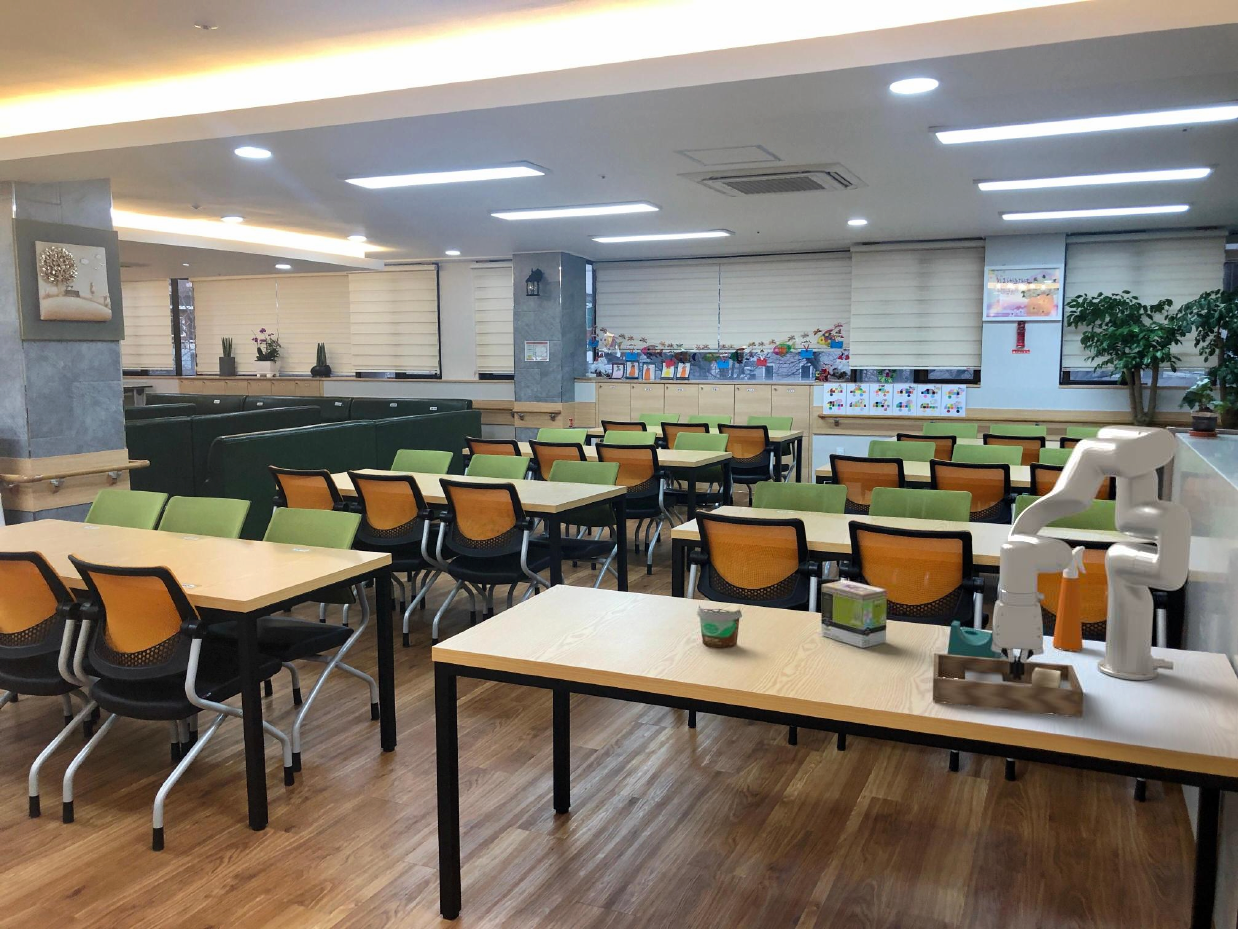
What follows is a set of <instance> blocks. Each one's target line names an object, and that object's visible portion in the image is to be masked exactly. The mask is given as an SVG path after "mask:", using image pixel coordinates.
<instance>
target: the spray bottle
mask: <svg viewBox="0 0 1238 929" xmlns="http://www.w3.org/2000/svg"><path fill="white" fill-rule="evenodd" d="M1085 550H1086V548H1085V546H1083V545H1082V546H1076V547H1075V548H1074V549H1073V550H1072V554H1073V558H1072V562H1071V564H1070V565H1069V566H1068V567H1067V568H1066V569H1065V570H1063V571H1062V579H1061V587H1060V592H1059V599H1058V600H1059V601H1058V606H1057V613H1056V619H1055V620H1056V621H1055V627H1054V634H1053V638H1052V639H1053V640H1052V646H1053V647H1054V648H1055V647H1057V648H1061V649H1063V650H1062V651H1064V650H1071V651H1070V652H1078V650H1080V651H1082V650H1083V649H1084V648H1083V634H1082V632H1083V631H1082V618H1081V616H1082V615H1081V601H1080V600H1081V598H1080V586H1079V585H1080V584H1079V570H1080V573H1083V574H1085V575H1087V572H1086V569H1085V566H1084V564H1083V555H1084V554H1083V552H1085ZM1057 648H1056V649H1057Z"/></svg>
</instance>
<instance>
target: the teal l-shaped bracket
mask: <svg viewBox="0 0 1238 929" xmlns="http://www.w3.org/2000/svg"><path fill="white" fill-rule="evenodd" d="M949 630H950V632H949V639H948V646H947V653H946V654H948V655H960V656H971V657H983V658H994V659H1001V657H1002V655H1003V654H1002V653H999V652H996V651H993V650H992V649H991V645H992V642H993V638H992V632H990V631H985V630H982V629H981V630H980V629H976V628H972V627H966V626H961V621H957V620H953V621H952V623H951V624H950V628H949Z"/></svg>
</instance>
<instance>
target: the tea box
mask: <svg viewBox="0 0 1238 929" xmlns="http://www.w3.org/2000/svg"><path fill="white" fill-rule="evenodd" d="M887 591H888V589H886V588H882V587H877V586H873V585H868V584H865V583H860V582H857V581H851V580H847V579H844V580H838V581H834V582H828V583H823V584H821V602H820V603H821V605H820V606H821V608H820V609H821V612H820V614H821V616H820V617H821V618H820V623H821V624H820V627H821V629H820V633H821V636H822V635H823V637H826V638H829V639H833V640H835V641H838V642H842V643H845V644H849V645H852V646H856V647H858V648H861V649H864V648H868V647H874V646H877V645H880V644H881V645H882V644H883V643H886V641H887V639H886V638H887V608H888V607H887V606H888V605H887V600H888V599H887V598H888V596H887V595H888V592H887Z"/></svg>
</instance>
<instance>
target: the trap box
mask: <svg viewBox="0 0 1238 929" xmlns="http://www.w3.org/2000/svg"><path fill="white" fill-rule="evenodd" d="M1009 662H1010V661H1009V659H1007V658H1006V659H1004V658H999V659H994V658H983V657H971V656H960V655H948V654H947V653H946V654H945V653H936V652H934V653H933V670H932V671H933V673H932V674H933V677H932V702H933V701H935V702H934V703H938V702H946V703H945V704H948V703H952V704H951V705H957V704H960V706H967V705H970V706H969V707H977V708H978V707H979V708H987V709H999V710H1005V711H1007V710H1008V711H1016V712H1025V713H1037V714H1044V713H1053V714H1058V715H1057V716H1063V715H1068V716H1067V717H1072V716H1075V717H1076V718H1083V711H1084V690H1083V687H1082V685H1081V682H1080V680H1079V678H1078V676H1077V673H1076V671H1075V668H1074V667H1073V665H1072V664H1061V663H1050V662H1040V661H1039V662H1037V661H1028V660H1027V661H1026V662H1025V671H1024V675H1021V680H1018V679H1016V680H1013V675H1012V674H1010V673H1009ZM1035 668H1042V669H1049V670H1055V671H1061V673H1060V689H1059V688H1048V687H1038V686H1032V673H1033V671H1034V670H1035ZM943 677H945V678H943ZM954 678H958V679H954ZM1053 714H1052V715H1053ZM1075 717H1074V718H1075Z"/></svg>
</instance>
